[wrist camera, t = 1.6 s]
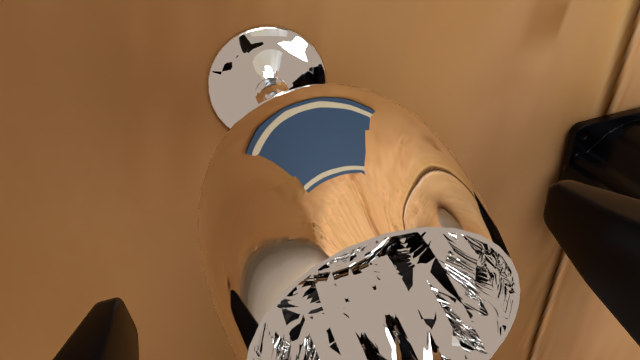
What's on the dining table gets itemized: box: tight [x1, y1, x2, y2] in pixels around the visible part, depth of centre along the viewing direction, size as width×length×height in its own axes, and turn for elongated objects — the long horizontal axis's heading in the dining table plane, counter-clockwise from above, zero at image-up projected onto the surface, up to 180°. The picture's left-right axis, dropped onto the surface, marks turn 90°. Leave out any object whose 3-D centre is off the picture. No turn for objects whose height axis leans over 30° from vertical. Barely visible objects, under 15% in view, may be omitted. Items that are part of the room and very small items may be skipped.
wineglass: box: [197, 25, 520, 360], centre depth 12 cm, size 6×6×12 cm
